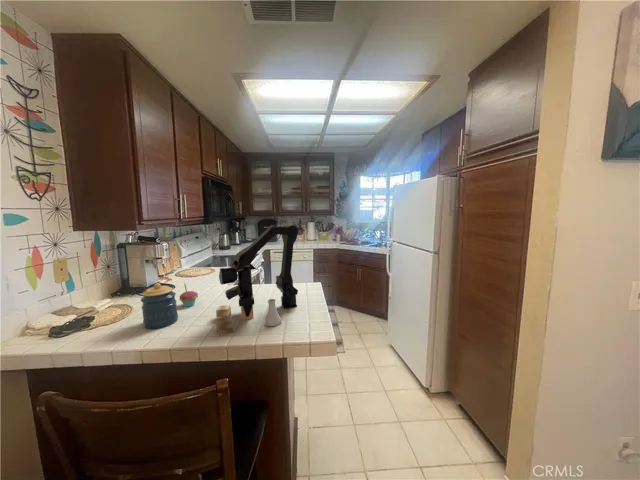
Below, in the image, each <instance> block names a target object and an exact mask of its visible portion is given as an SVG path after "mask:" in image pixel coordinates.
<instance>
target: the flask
mask: <svg viewBox="0 0 640 480" xmlns="http://www.w3.org/2000/svg"><path fill="white" fill-rule="evenodd" d="M267 303H268V309H267V314H266V317H265V320H264V326H266V327H277V326H279V325H280V324H282V318H281V317H280V315H279V312H278V309H277V306H276V299H275V298H269V299H268V300H267Z"/></svg>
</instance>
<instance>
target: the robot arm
mask: <svg viewBox="0 0 640 480" xmlns="http://www.w3.org/2000/svg"><path fill="white" fill-rule="evenodd" d="M276 235H281V239H282V241H283V247H282V248H283V249H282V257H281V258H282V260H281V269H280V273H279V275H276V276H275V279H276V280H275V285H276V288H277V289H278V290H279V291H280V293H281V297H280V302H281V303H280V304H281V306H282V309H291V308H297V307H298V305H297V295H298V293H299V292H298V291H299V290H298V289H297V288H296V287H295V286H294V281H293V276H292V265H293V264H292V263H293V254H294V244H295V243H296V241H297V239H298V235H299V229H298V227H297V226H296V225H294V224H285V225H283V226H281V225H279V226H276V225H270V226H268V228H267V229H266V230H264V232H263V233H261V234H260V235H259V236H258V237H257V238H256V239H255V240H254V241H253V242H252V243H251V244H250V245H248V246H246V247H245V248H243V249H241V250H240V251H238V252H237V253H236V254H235V258H234V261H233V262H232V264H231V265H230V267H220V268H219V275H218V279H219V280H218V281H219V283H220V285H228V284H234V283H236V281H237V285H236V286H233V287H231V288H229V289H227V290H225V293H224V294H225V296H226V298H227V300H229V301H230V300H231V299H233V298H235V297H237V296H238V298H239V299H238V307H240V308H241V306H243V308H244V311H245V314H246V317H249V315H250V312H251V309H252V306H253V307H254V305H255V297H254V293H253V292H254V291H253V279H252V277H253V276H252V270H256V269H257V267H255V266H254V265H253V264H252V262H253V261H254V260H255V258H256V256H257V254H258V253H259V251H260V250H261V249H263V247H264V246H265V245H266V244H268V243H269V241H271V240H272V239H273V238H274V237H275V236H276Z"/></svg>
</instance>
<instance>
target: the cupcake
mask: <svg viewBox="0 0 640 480" xmlns="http://www.w3.org/2000/svg"><path fill="white" fill-rule="evenodd" d="M183 283H184V284H183V285H184V290H185V291H184V292H182V293H181V294H180V295H179V296H178V297H179V301H181V303H182V304H183V306H184V308H188V307H189V308H190V307H193V306H195V303H196V300H197V299H198V298H199V294H198V292H196V291H194V290H191V291H190V290H188V288H187V283H186V282H185V281H184V282H183Z"/></svg>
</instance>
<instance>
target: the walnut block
mask: <svg viewBox="0 0 640 480" xmlns="http://www.w3.org/2000/svg"><path fill="white" fill-rule="evenodd" d="M215 320H216V321H215V323H216V331H217V334H218V335H219V337H220V336H221V337H222V336H225V335H228V334H232V333H234V328H233V319H232V318H231V317H229V316H227V317H223V318H219V319H217V318H216V319H215Z"/></svg>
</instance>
